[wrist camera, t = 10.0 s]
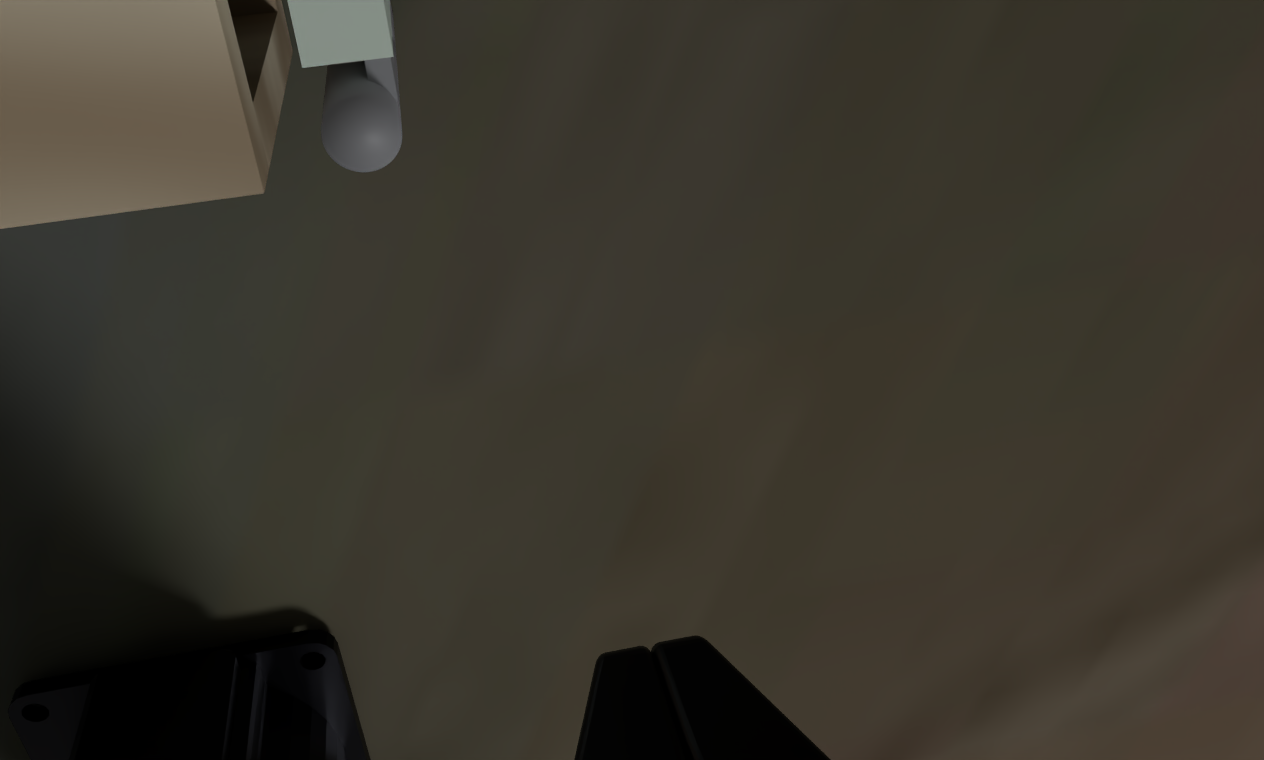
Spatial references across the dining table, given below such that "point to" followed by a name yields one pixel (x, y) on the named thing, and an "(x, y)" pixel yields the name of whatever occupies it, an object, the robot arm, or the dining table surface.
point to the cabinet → (136, 103)
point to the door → (353, 77)
